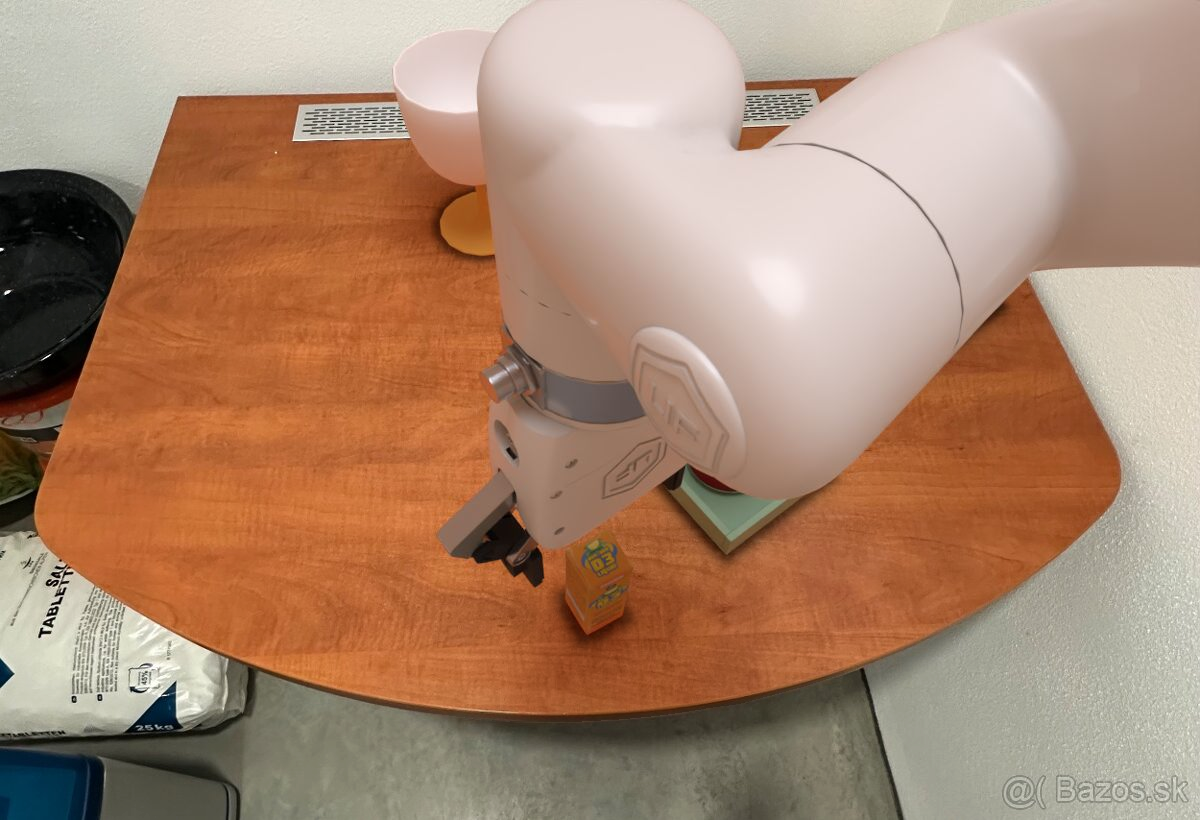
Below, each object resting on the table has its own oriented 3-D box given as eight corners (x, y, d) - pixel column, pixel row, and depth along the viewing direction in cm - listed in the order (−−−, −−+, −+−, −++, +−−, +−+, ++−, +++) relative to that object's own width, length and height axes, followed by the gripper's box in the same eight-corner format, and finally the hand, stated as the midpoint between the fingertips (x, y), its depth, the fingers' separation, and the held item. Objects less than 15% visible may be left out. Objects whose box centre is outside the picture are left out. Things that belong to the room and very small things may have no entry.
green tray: (829, 477, 64) (837, 461, 62) (725, 555, 61) (730, 542, 58) (734, 385, 69) (739, 368, 67) (633, 452, 65) (635, 437, 63)
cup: (433, 182, 83) (401, 25, 68) (546, 183, 83) (538, 27, 68) (419, 266, 76) (380, 113, 62) (542, 267, 76) (532, 115, 62)
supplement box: (587, 640, 57) (586, 591, 48) (564, 599, 58) (560, 544, 50) (627, 618, 58) (634, 565, 49) (604, 578, 59) (606, 521, 51)
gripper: (463, 522, 27) (503, 661, 41) (825, 290, 33) (749, 483, 47) (356, 374, 30) (428, 551, 44) (704, 186, 36) (667, 397, 50)
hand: (593, 516), depth 46 cm, fingers open, 9 cm apart
